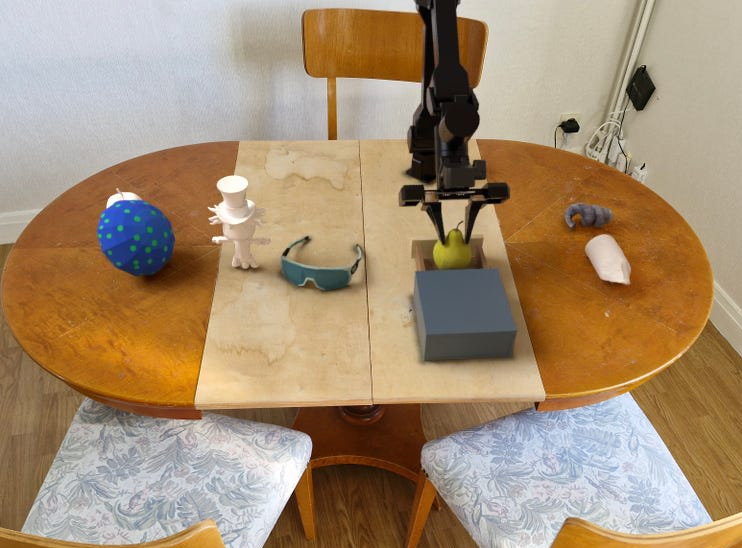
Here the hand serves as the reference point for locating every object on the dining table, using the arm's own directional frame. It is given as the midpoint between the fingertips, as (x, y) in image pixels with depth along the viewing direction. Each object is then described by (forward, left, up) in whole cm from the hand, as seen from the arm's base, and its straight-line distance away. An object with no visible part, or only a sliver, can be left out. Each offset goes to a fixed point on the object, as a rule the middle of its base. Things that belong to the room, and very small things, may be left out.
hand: (455, 244), depth 120 cm
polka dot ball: (+34, -46, -9) cm, 58 cm away
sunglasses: (+12, -21, -9) cm, 26 cm away
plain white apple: (+28, -58, -9) cm, 65 cm away
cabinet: (+8, +8, -9) cm, 14 cm away
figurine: (+22, -31, -9) cm, 39 cm away
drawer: (-1, -1, -8) cm, 8 cm away
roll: (-21, +21, -9) cm, 31 cm away
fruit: (-1, -1, -7) cm, 7 cm away
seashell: (-33, +10, -9) cm, 36 cm away
